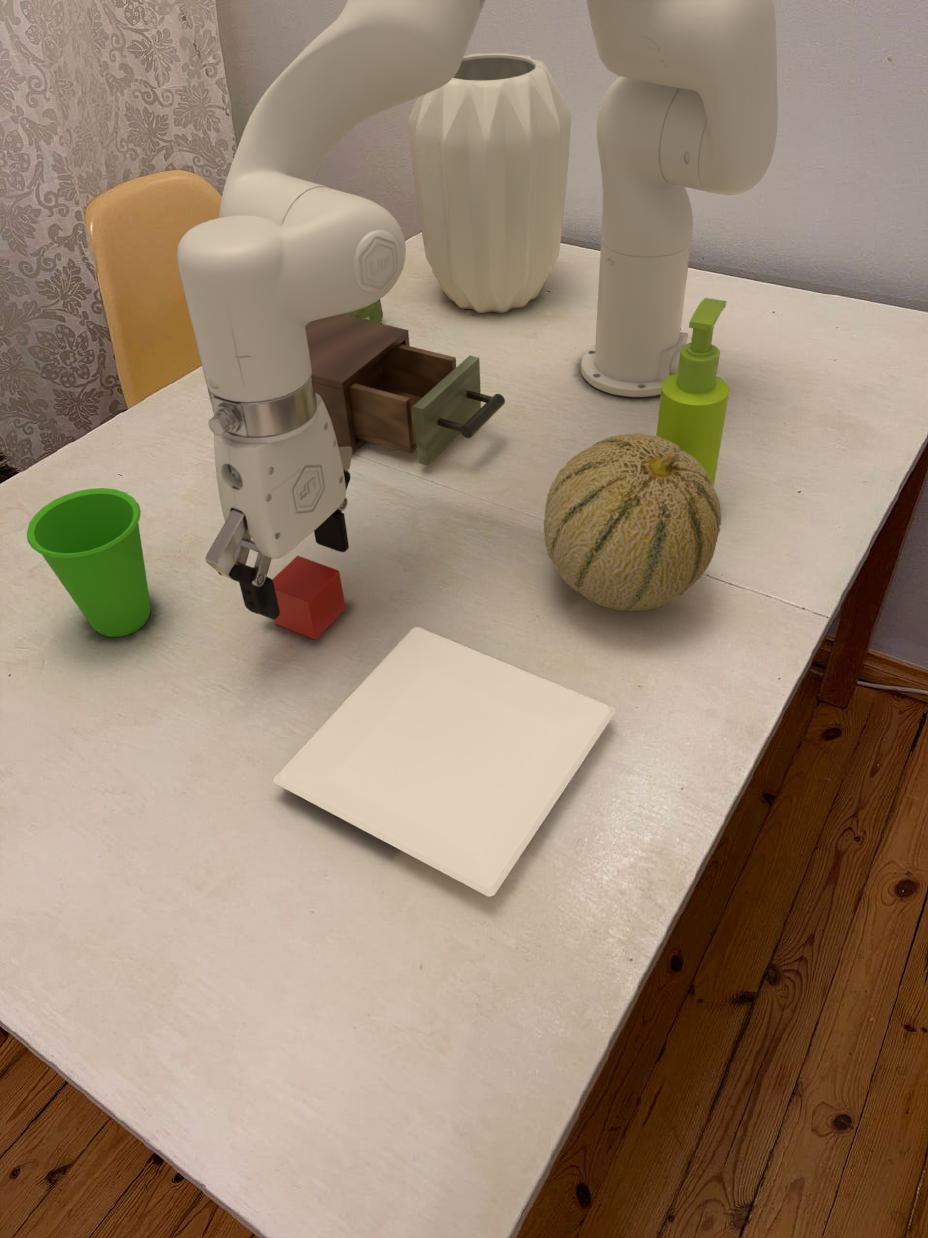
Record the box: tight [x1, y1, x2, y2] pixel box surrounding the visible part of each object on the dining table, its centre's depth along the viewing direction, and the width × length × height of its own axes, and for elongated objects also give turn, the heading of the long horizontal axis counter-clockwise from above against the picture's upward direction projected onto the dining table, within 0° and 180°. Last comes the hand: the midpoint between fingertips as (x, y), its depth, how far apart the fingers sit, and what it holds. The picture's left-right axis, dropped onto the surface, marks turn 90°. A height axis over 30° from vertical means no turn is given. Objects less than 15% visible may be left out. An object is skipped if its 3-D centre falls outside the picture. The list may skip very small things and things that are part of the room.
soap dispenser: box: [655, 297, 730, 488], centre depth 88 cm, size 6×7×20 cm
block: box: [271, 555, 346, 641], centre depth 84 cm, size 4×4×4 cm
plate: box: [272, 626, 617, 898], centre depth 72 cm, size 19×19×2 cm
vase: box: [407, 51, 572, 314], centre depth 121 cm, size 20×20×28 cm
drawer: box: [347, 344, 506, 467], centre depth 103 cm, size 17×11×7 cm
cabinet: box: [305, 314, 411, 455], centre depth 107 cm, size 14×13×9 cm
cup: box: [26, 487, 152, 638], centre depth 82 cm, size 9×9×11 cm
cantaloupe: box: [543, 432, 722, 612], centre depth 81 cm, size 15×15×15 cm
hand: (299, 578), depth 82 cm, fingers open, 9 cm apart
